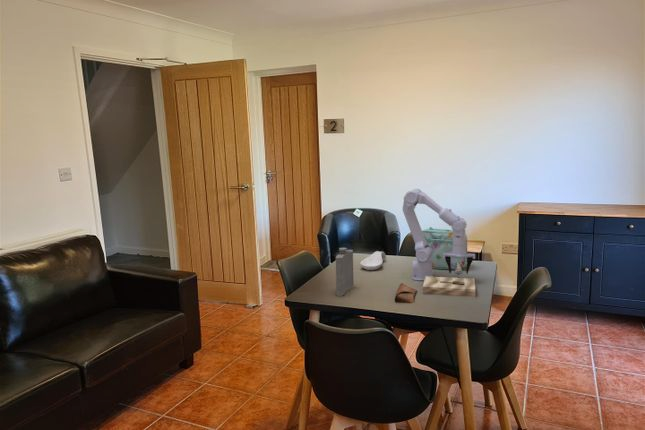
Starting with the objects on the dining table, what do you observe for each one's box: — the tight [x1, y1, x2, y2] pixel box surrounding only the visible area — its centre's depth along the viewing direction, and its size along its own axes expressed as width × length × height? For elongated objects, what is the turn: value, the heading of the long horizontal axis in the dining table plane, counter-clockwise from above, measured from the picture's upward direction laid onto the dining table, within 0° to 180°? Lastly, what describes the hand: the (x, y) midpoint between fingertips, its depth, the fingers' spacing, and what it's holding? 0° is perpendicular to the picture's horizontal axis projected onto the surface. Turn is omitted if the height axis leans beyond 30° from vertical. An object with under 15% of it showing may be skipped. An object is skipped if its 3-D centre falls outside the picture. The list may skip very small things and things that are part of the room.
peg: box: [454, 262, 463, 278], centre depth 215 cm, size 4×4×9 cm
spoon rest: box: [360, 250, 388, 271], centre depth 248 cm, size 24×12×7 cm, turn 153°
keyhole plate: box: [422, 276, 476, 298], centre depth 205 cm, size 22×16×3 cm
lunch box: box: [414, 226, 468, 271], centre depth 240 cm, size 27×10×21 cm, turn 67°
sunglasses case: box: [394, 282, 418, 304], centre depth 198 cm, size 18×7×7 cm, turn 165°
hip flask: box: [335, 247, 355, 297], centre depth 207 cm, size 16×4×20 cm, turn 156°
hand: (458, 272), depth 215 cm, fingers open, 7 cm apart
